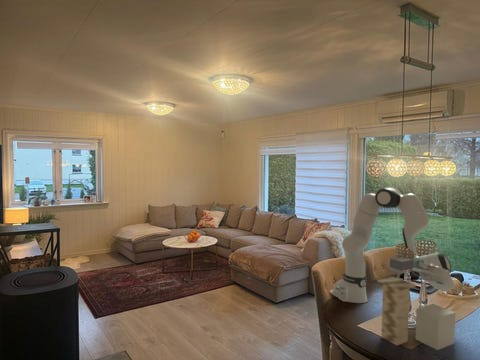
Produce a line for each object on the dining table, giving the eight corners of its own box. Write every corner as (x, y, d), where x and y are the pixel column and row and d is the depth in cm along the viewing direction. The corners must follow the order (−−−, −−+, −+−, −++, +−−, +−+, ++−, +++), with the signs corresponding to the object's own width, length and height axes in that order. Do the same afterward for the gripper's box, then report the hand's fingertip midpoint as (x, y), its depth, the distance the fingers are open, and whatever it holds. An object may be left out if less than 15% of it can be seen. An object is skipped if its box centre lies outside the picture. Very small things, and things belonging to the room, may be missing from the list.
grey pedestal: (415, 339, 148) (416, 308, 147) (431, 333, 153) (433, 303, 153) (437, 350, 139) (438, 317, 138) (454, 343, 144) (455, 312, 144)
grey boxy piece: (389, 267, 148) (389, 258, 148) (415, 262, 157) (415, 254, 157) (401, 270, 143) (401, 261, 143) (427, 265, 151) (427, 257, 151)
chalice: (390, 276, 236) (390, 255, 236) (411, 281, 227) (412, 259, 227) (384, 281, 225) (385, 259, 225) (406, 286, 217) (407, 263, 216)
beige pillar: (375, 335, 150) (377, 279, 149) (390, 331, 155) (392, 276, 154) (398, 348, 139) (400, 288, 139) (413, 343, 144) (416, 284, 143)
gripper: (412, 261, 167) (397, 250, 162) (454, 273, 149) (438, 260, 143) (408, 273, 166) (392, 262, 160) (449, 285, 148) (433, 274, 142)
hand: (414, 261), depth 152 cm, fingers closed on grey boxy piece, 3 cm apart
